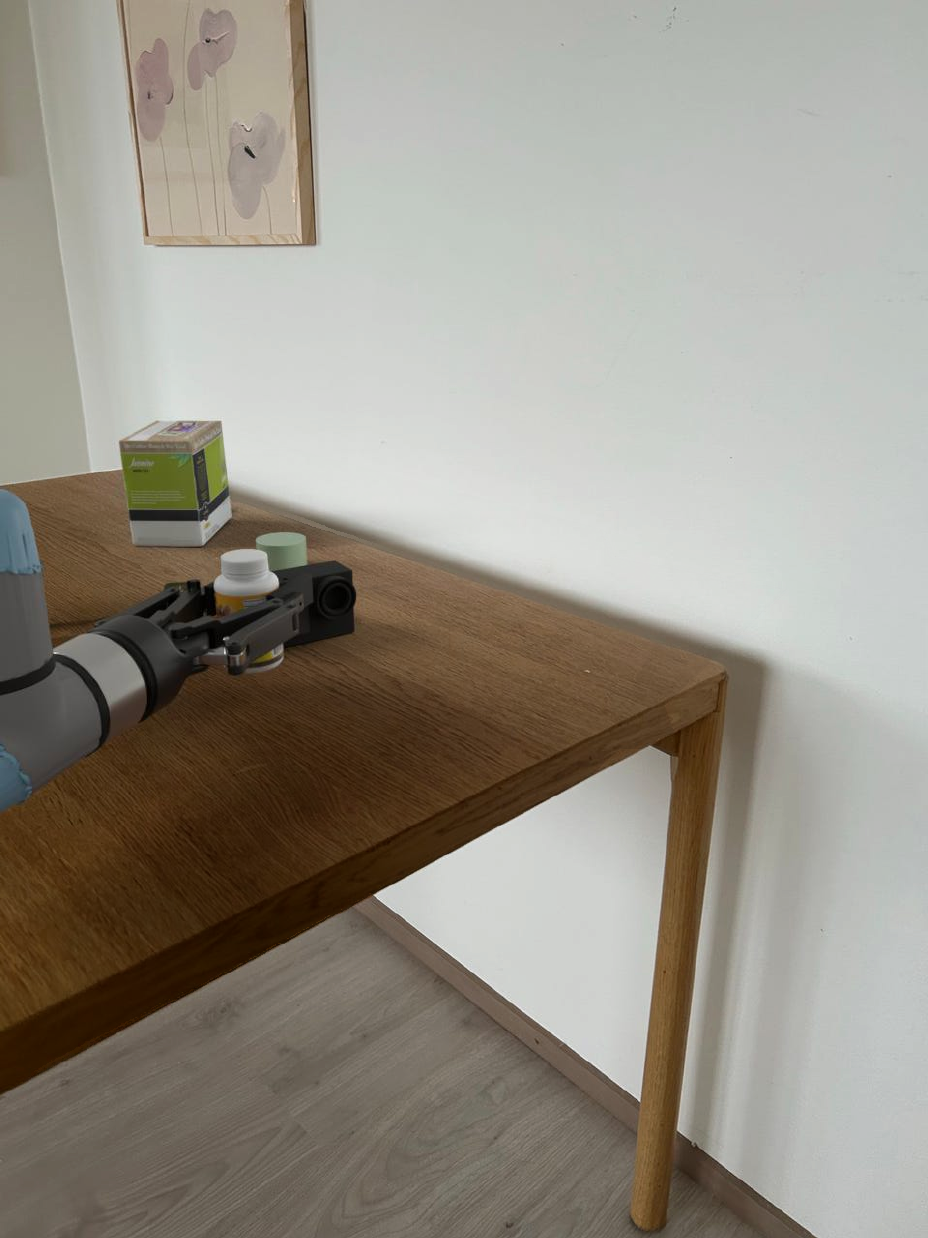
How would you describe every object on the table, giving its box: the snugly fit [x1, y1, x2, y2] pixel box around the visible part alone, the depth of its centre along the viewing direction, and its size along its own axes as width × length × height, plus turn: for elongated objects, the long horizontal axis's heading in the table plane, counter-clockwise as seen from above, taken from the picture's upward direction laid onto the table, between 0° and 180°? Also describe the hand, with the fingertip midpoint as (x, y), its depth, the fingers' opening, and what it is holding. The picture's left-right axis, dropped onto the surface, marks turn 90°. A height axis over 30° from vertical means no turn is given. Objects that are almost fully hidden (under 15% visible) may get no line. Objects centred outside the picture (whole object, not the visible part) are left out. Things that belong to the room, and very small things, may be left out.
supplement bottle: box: [213, 548, 285, 675], centre depth 84 cm, size 6×6×10 cm
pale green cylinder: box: [255, 531, 309, 571], centre depth 116 cm, size 6×6×5 cm
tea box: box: [118, 420, 233, 548], centre depth 133 cm, size 15×10×15 cm
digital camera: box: [270, 559, 357, 649], centre depth 98 cm, size 10×5×7 cm, turn 124°
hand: (278, 583), depth 88 cm, fingers closed on supplement bottle, 6 cm apart
